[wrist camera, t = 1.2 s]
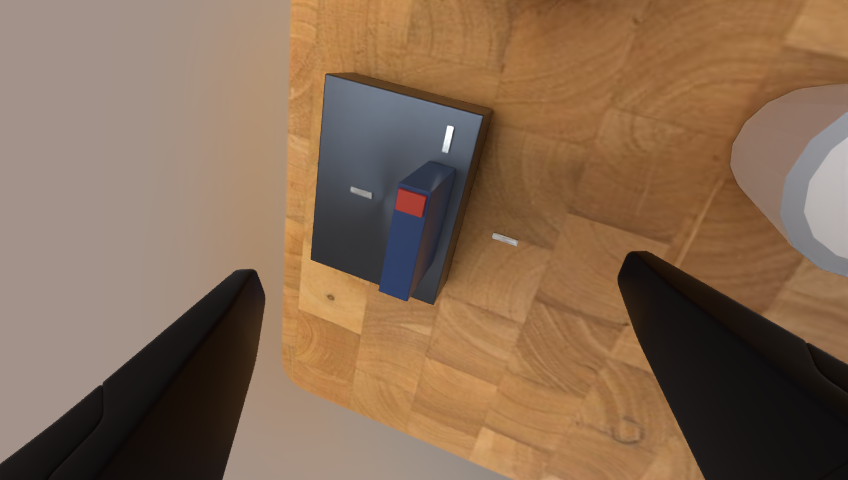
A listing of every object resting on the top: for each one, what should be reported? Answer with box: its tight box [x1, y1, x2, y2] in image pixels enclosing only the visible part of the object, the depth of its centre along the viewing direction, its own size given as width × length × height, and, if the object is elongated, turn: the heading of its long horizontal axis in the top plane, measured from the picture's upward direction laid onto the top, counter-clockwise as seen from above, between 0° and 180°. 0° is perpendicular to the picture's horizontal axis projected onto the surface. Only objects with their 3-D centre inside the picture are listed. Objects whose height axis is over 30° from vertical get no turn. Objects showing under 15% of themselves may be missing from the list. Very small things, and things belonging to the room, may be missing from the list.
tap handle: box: [379, 161, 456, 301], centre depth 20 cm, size 6×2×5 cm, turn 168°
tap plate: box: [311, 72, 518, 305], centre depth 24 cm, size 12×13×3 cm
